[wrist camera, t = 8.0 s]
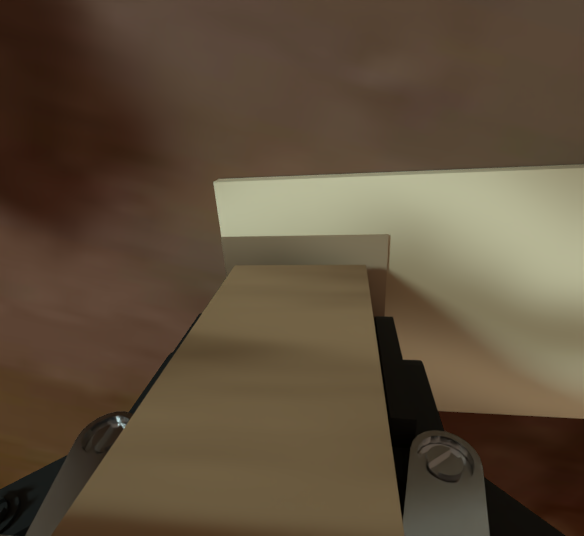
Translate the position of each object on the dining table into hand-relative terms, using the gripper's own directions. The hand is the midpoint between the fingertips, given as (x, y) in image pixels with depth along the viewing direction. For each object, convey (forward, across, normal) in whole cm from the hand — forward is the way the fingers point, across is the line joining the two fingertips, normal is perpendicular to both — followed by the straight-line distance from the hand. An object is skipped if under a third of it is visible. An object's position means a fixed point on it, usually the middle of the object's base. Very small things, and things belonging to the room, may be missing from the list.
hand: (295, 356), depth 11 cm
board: (+3, -5, 0) cm, 6 cm away
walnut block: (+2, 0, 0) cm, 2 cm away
